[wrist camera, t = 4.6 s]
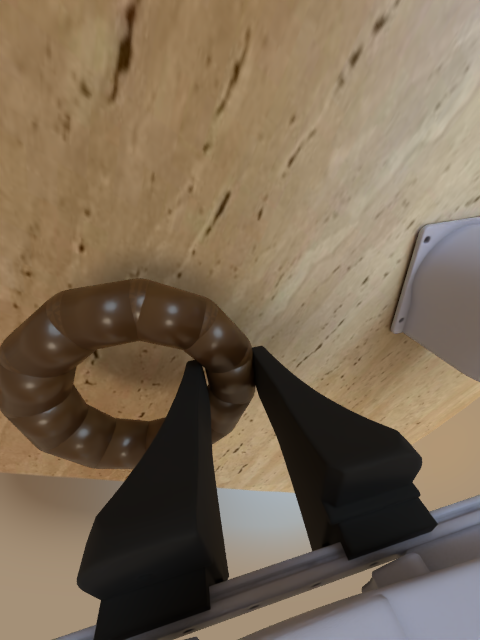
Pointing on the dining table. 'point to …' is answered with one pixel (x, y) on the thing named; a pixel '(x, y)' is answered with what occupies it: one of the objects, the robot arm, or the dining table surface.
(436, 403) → the dining table surface
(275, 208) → the dining table surface
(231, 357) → the segmented ring
